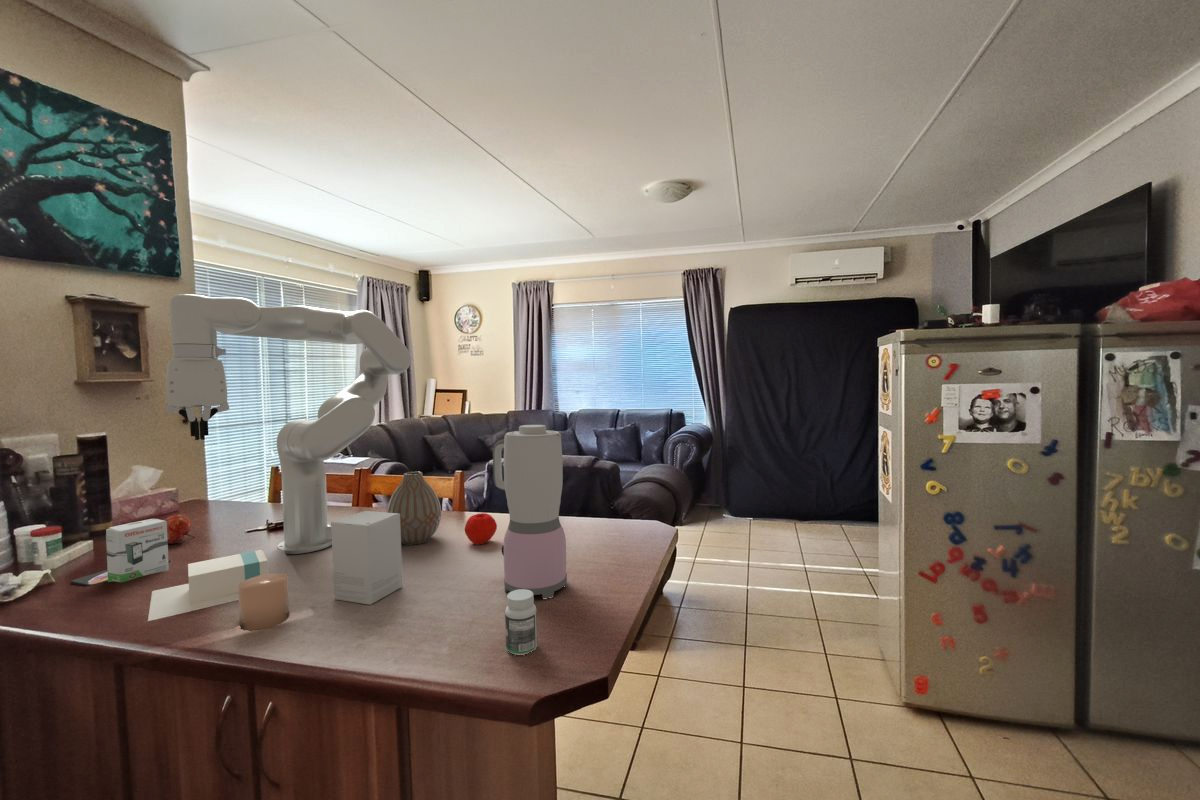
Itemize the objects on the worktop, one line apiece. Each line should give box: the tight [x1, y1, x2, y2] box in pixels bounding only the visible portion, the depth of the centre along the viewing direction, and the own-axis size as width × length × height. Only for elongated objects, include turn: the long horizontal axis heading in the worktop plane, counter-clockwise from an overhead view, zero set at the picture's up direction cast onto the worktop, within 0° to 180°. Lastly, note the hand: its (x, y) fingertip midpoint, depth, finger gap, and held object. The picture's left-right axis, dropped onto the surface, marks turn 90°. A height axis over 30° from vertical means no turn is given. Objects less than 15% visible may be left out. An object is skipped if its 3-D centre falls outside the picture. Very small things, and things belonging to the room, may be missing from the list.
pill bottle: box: [504, 589, 538, 654], centre depth 77 cm, size 5×5×8 cm
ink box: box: [105, 518, 170, 583], centre depth 107 cm, size 9×5×12 cm, turn 158°
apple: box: [464, 512, 498, 545], centre depth 127 cm, size 8×8×7 cm
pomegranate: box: [163, 514, 196, 545], centre depth 131 cm, size 7×7×10 cm
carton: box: [187, 549, 269, 604], centre depth 99 cm, size 5×8×12 cm
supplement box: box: [330, 510, 403, 605], centre depth 98 cm, size 9×9×15 cm
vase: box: [386, 471, 442, 546], centre depth 129 cm, size 13×13×18 cm
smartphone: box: [70, 559, 172, 587], centre depth 111 cm, size 8×1×15 cm
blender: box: [492, 424, 568, 598], centre depth 100 cm, size 16×12×32 cm
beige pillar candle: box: [238, 572, 290, 632], centre depth 87 cm, size 7×7×7 cm
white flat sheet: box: [147, 582, 239, 622], centre depth 97 cm, size 17×16×1 cm
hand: (199, 439), depth 109 cm, fingers closed
